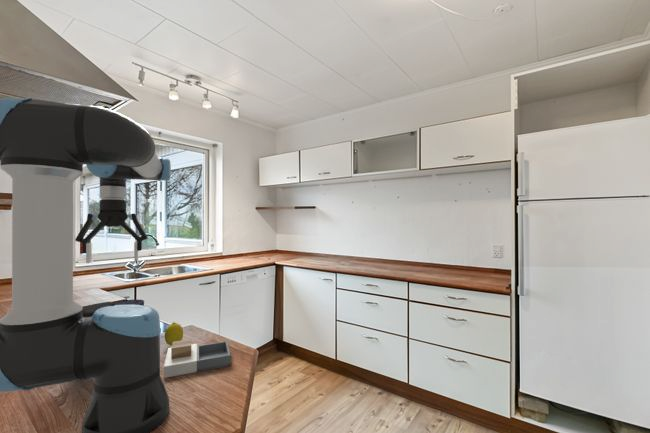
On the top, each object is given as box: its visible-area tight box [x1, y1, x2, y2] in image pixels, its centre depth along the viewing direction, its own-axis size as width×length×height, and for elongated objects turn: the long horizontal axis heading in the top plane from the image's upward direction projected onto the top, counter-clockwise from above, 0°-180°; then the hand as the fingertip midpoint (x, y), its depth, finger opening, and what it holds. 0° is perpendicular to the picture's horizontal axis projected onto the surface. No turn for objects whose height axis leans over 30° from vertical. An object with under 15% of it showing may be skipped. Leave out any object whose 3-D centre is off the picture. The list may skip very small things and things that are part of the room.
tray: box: [196, 340, 231, 373], centre depth 90 cm, size 11×9×3 cm
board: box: [163, 343, 198, 379], centre depth 88 cm, size 13×8×3 cm, turn 23°
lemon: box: [164, 321, 184, 346], centre depth 100 cm, size 6×6×8 cm
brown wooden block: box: [170, 338, 192, 359], centre depth 88 cm, size 5×5×3 cm
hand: (113, 261), depth 104 cm, fingers open, 13 cm apart
